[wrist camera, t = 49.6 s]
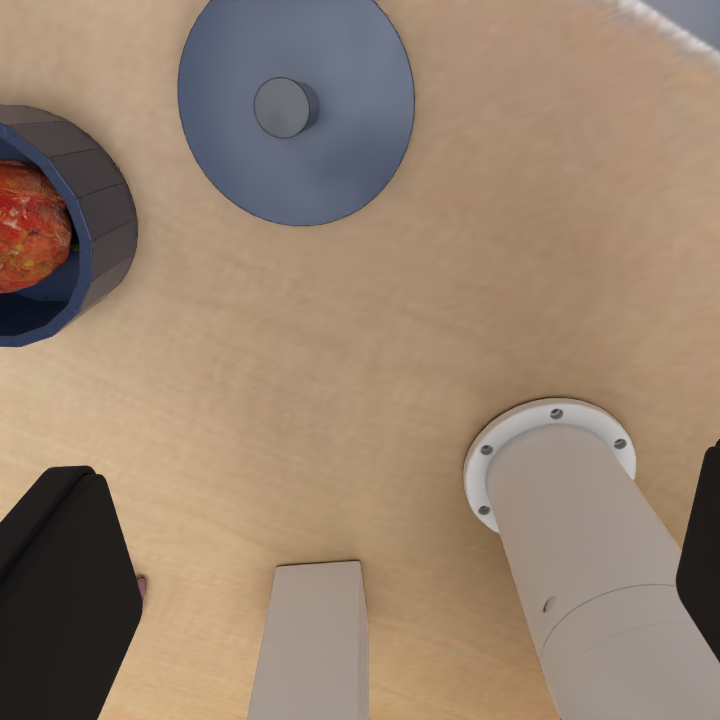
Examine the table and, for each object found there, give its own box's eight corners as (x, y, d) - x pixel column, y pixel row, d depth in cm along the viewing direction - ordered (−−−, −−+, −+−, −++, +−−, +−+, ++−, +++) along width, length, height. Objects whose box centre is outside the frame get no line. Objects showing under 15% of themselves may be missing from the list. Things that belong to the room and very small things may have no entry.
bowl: (172, 275, 36) (135, 308, 31) (7, 331, 38) (-59, 373, 32) (74, 72, 32) (7, 65, 26) (-111, 147, 33) (-214, 157, 27)
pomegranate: (127, 185, 36) (-53, 89, 28) (143, 267, 32) (-59, 182, 24) (65, 257, 39) (-115, 188, 31) (73, 340, 35) (-128, 285, 27)
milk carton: (368, 619, 50) (370, 896, 32) (289, 624, 50) (248, 901, 33) (360, 558, 47) (357, 827, 29) (275, 564, 47) (223, 834, 30)
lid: (439, 182, 34) (456, 201, 27) (239, 250, 36) (211, 283, 29) (372, -72, 29) (374, -123, 22) (141, 23, 31) (82, 2, 24)
